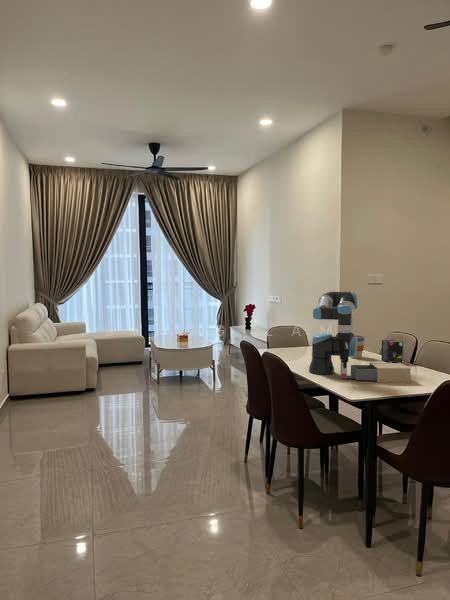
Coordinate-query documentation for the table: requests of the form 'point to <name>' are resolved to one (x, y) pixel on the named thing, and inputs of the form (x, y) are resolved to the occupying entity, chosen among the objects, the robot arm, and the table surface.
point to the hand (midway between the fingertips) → (343, 372)
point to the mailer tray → (361, 372)
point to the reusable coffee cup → (359, 347)
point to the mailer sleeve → (392, 372)
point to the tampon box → (392, 351)
